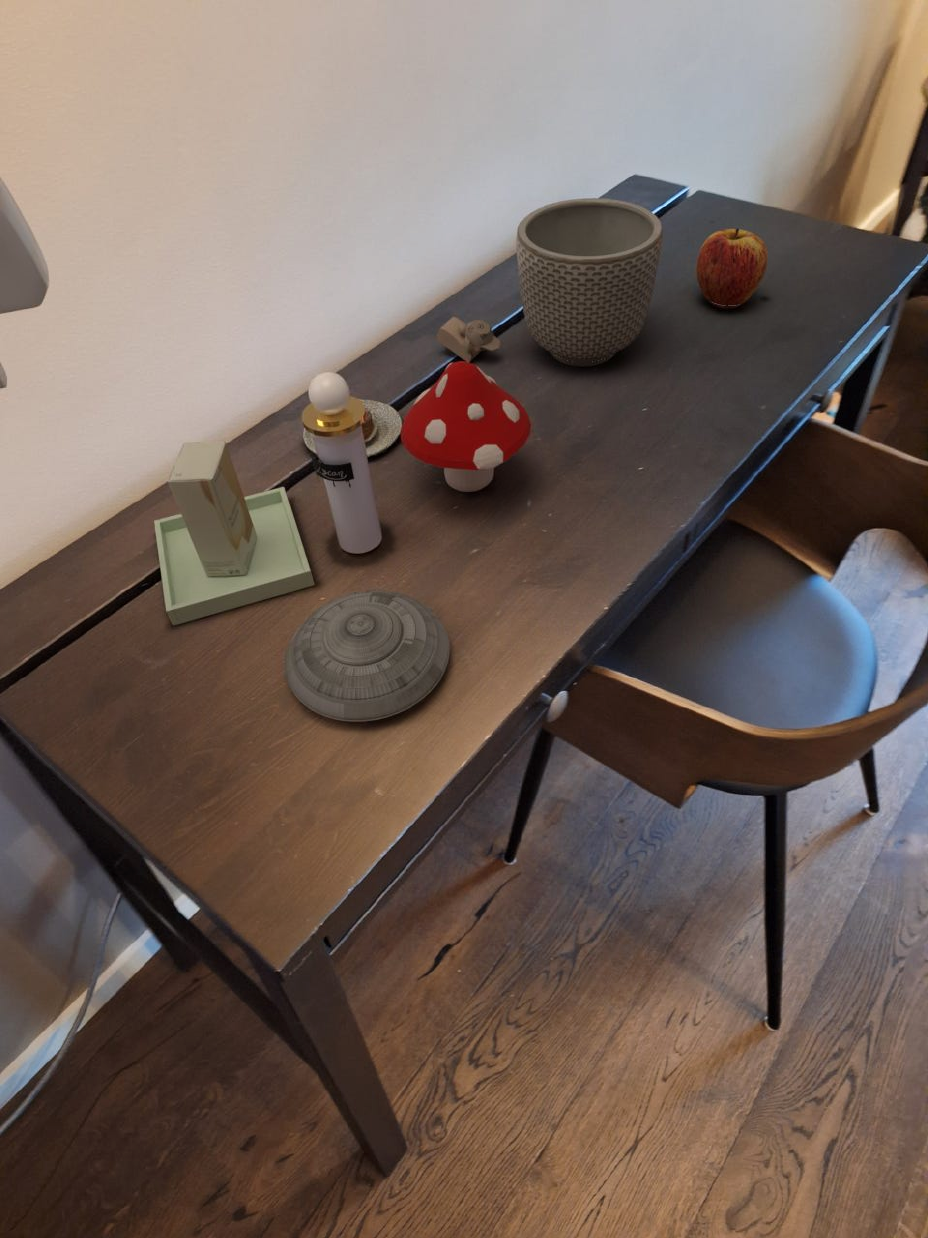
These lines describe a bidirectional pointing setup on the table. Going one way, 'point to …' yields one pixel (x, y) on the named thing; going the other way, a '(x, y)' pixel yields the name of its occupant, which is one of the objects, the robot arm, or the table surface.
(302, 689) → the flying saucer
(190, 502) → the cosmetic box
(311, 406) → the perfume bottle
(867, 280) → the table surface
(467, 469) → the decorative mushroom
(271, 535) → the tray
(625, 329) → the planter
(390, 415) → the grey speckled shallow bowl
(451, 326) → the toy character
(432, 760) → the table surface
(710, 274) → the apple
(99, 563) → the table surface
